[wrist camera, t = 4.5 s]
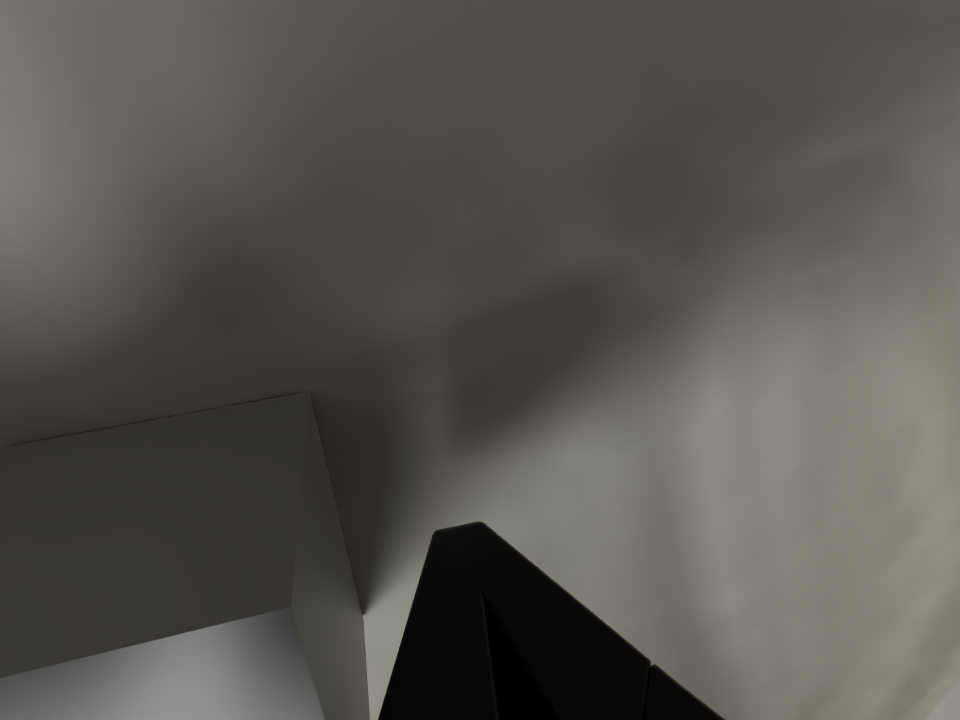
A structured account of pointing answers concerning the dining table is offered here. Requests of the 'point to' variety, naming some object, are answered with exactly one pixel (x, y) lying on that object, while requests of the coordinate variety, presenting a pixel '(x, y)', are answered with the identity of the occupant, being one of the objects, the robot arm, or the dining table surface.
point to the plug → (179, 573)
